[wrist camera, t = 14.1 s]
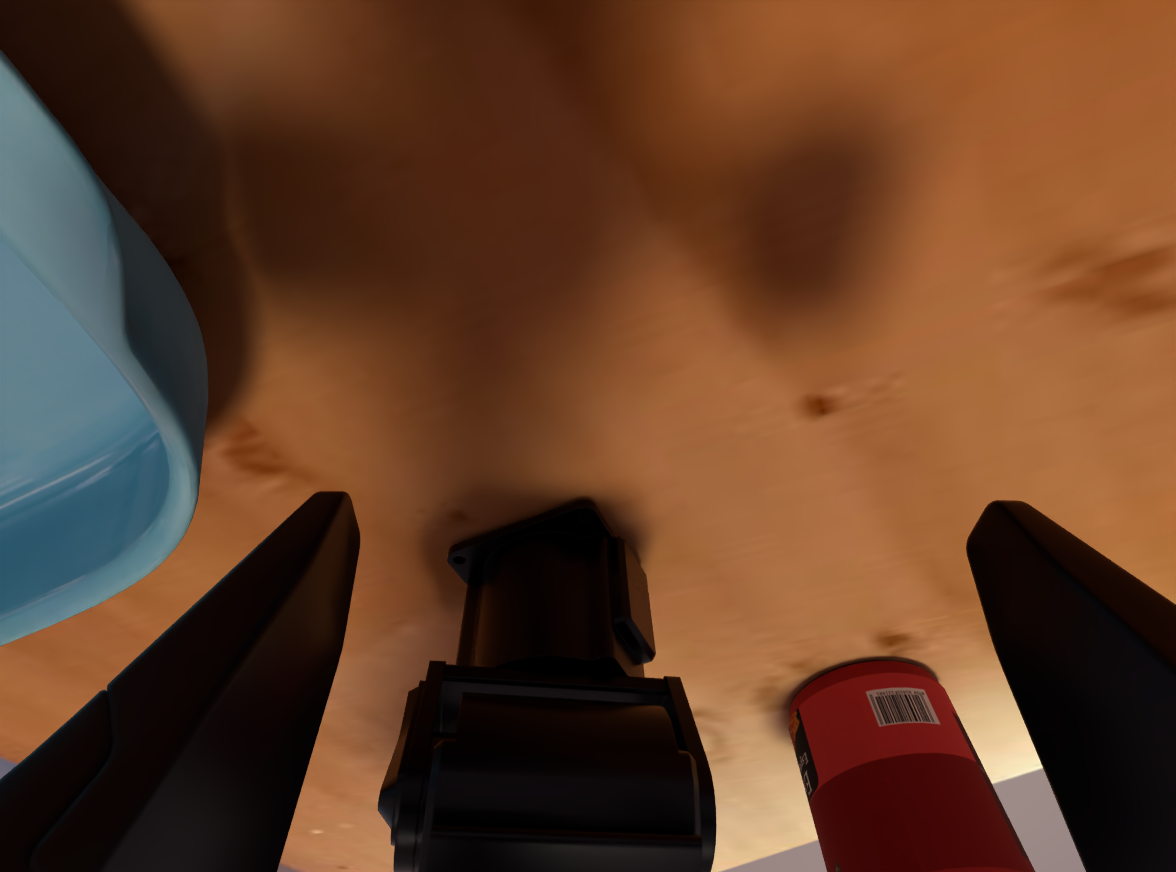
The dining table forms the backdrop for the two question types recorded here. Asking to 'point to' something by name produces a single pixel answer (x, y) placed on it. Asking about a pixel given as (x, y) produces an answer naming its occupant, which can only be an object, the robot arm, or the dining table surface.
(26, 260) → the casserole dish
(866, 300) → the dining table surface
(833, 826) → the canned food
